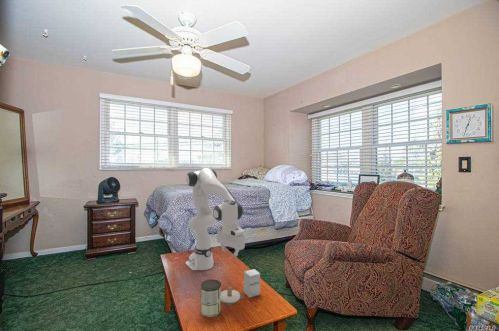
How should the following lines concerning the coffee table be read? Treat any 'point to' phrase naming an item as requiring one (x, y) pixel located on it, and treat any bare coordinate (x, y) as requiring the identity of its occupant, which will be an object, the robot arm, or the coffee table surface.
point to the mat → (235, 302)
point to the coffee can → (210, 298)
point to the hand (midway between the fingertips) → (229, 253)
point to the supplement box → (251, 283)
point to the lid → (230, 295)
